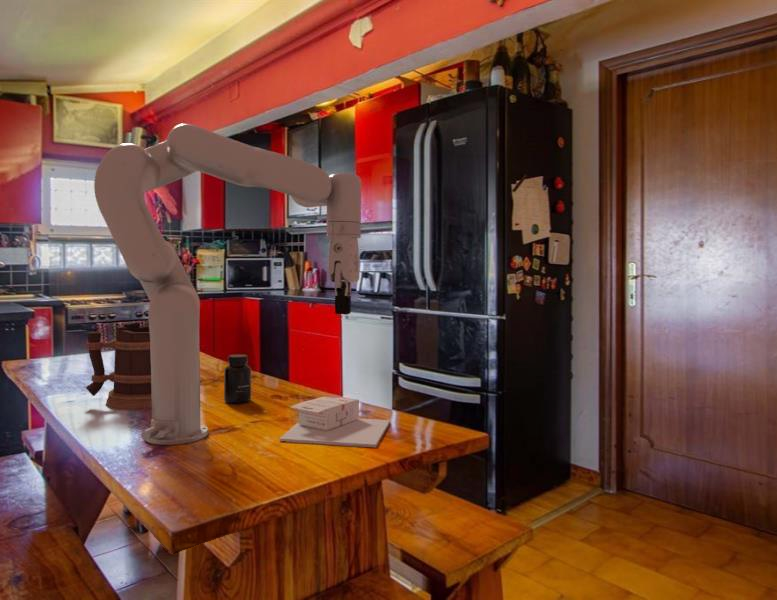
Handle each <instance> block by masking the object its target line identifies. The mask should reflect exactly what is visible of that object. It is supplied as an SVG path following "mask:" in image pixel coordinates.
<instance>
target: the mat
mask: <svg viewBox="0 0 777 600" xmlns="http://www.w3.org/2000/svg"><path fill="white" fill-rule="evenodd" d="M390 424H391V420H390V419H375V418H374V419H373V418H359V419H358V420H355V421H352V422H349V423H347V424H344V425H341V426H338V427H335V428H333V429H330V430H328V431H326V430H321V429H317V428H312V427H308V426H303V425H299V424H298V422H296V423H295V424H294V425H293V426H292V427H291V428H290V429H288V430H287V431H286V432H285V433H284V434H283V435H282V436H281V437H279V440H278V441H279V442H281V441H286V442H285V443H295V444H296V443H299V444H312V443H313V444H314V445H315V444H316V445H327V446H328V445H330V446H331V445H333V446H346V447H347V446H348V447H359V448H361V447H362V448H377V446H378V444H379V442H380V441H381V439H382V437H383V436H384V435H385V432H386V430H387V429H388V428H389V425H390ZM313 444H312V445H313Z"/></svg>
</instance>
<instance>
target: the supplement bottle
mask: <svg viewBox="0 0 777 600" xmlns="http://www.w3.org/2000/svg"><path fill="white" fill-rule="evenodd" d="M227 357H228V358H227V359H228V360H227V363H228V365H227V366H225V368H224V373H223V381H224V383H223V397H224V398H223V399H224V400H223V402H225V404H230V405H231V404H232V405H238V404H239V405H240V404H246V403H249V402H250V401H252V400H251V399H252V368H251V367H250V366H249V365H248V354H230V355H228V356H227Z"/></svg>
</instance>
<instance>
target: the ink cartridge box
mask: <svg viewBox="0 0 777 600" xmlns="http://www.w3.org/2000/svg"><path fill="white" fill-rule="evenodd" d="M289 408H290V409H295V410H298V412H297V413H298V415H297V417H298V419H297V423H298V424H299V425H303V426H308V427H312V428H317V429H321V430H326V431H328V430H330V429H333V428H335V427H338V426H341V425H344V424H347V423H349V422H352V421H355V420H358V419H360V399H358V398H352V397H345V396H339V395H331V394H330V395H329V394H328V395H325V396H321V397H318V398H313V399H309V400H306V401H305V400H304V401H301V402H298V403H297V404H294V405H290V407H289Z"/></svg>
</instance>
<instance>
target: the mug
mask: <svg viewBox="0 0 777 600" xmlns="http://www.w3.org/2000/svg"><path fill="white" fill-rule="evenodd" d="M86 336H87V337H86V338H87V342H85V347H86V350H88V354H89V359H90V362H91V365H92V368H93V375H91V383H90V384H88V385H87V386H85V389H86V390H87V391H88V392H89V393H90V395H92V396H93V397H95V396H96V395H97V394H98V393H99V392H100V390H101V389H102V388H103V385H104V383H105V382H107V381H110V382H112V383H113V389H111V390H110V391H108V393H107V394H108V395H107V396H108V397H107V399H106V401H105V406H106V407H108V408H110V409H115V410H120V411H121V410H123V411H142V410H152V399H151V356H150V332H149V325H145V326H141V323H140V322H139V321H135V322H134V321H133V322H127V323H124V324H123V326H122V325H121V326H120V325H119V326H118V325H117V326H116V328H115V338H114V339H112V340H110V341H108V342H107V341H106V342H103V341H101V338H102V332H100V331H89V332H87V333H86ZM104 348H111V349H113V350H114V367H113V368H114V371H111V372H109V374H105V372H106V370H105V365H104V360H103V355H102V352H101V350H102V349H104Z"/></svg>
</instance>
